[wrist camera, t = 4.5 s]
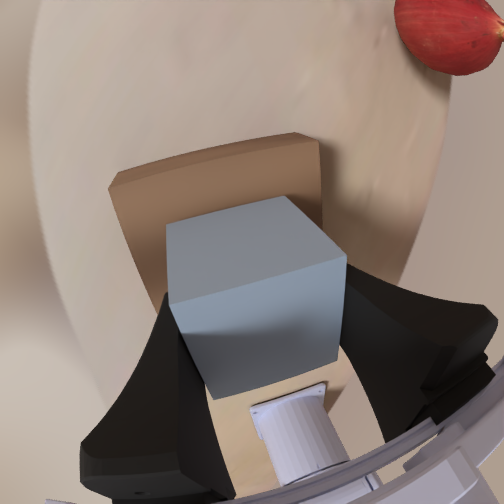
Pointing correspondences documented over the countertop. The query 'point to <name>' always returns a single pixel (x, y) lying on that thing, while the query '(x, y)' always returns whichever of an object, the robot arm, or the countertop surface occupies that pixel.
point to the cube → (255, 294)
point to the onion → (450, 33)
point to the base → (210, 192)
